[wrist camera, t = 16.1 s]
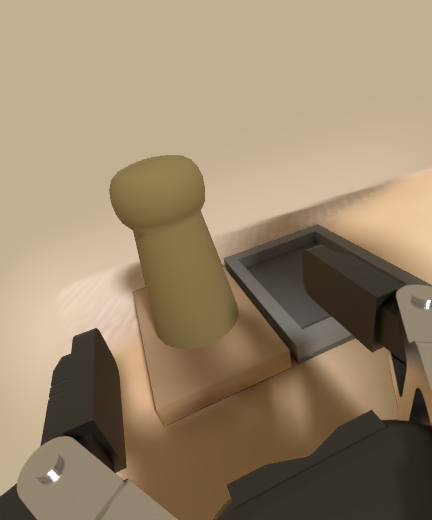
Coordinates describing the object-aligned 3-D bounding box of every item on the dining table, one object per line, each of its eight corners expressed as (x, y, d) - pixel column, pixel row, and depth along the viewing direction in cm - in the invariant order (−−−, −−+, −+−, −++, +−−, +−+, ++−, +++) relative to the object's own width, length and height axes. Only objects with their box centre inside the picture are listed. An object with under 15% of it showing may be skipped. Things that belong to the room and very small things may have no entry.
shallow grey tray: (318, 237, 30) (317, 224, 29) (428, 303, 20) (432, 285, 19) (226, 272, 28) (223, 258, 28) (298, 363, 18) (297, 346, 17)
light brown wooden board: (221, 273, 28) (218, 260, 27) (291, 367, 18) (289, 350, 17) (138, 305, 27) (133, 291, 26) (164, 426, 17) (155, 410, 16)
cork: (156, 361, 19) (81, 191, 13) (154, 303, 24) (99, 164, 18) (249, 332, 19) (215, 156, 14) (227, 281, 24) (195, 139, 19)
